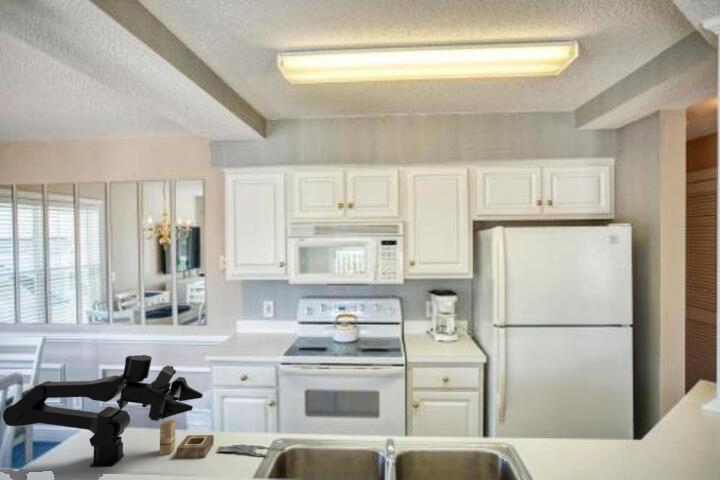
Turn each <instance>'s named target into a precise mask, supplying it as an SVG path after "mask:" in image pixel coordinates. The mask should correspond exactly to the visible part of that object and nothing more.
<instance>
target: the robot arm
mask: <svg viewBox="0 0 720 480" xmlns="http://www.w3.org/2000/svg"><path fill="white" fill-rule="evenodd" d="M124 363H125V364H124V369H123V373H122V374H121V375H111V376H106V377H101V378H97V379H95V380H80V381H79V380H77V381H76V380H75V381H74V380H72V381H71V380H70V381H67V380H66V381H51V380H46V381H44V382H43V381H42V383H40V384H37V385H35V386H34V387H33V388H32V389H31V390H30V391H29V392H28V393H26V395H25V394H24V396H23V397H22V398H21V399H18V400H17V401H16V402H15V403H13V404H10V405H9V406H8V407H6V408H5V409H4V411H3V413H2V419H3V421H4V424H5V425H6V426H9V427H24V426H29V425H30V426H31V425H35V424H42V425H50V426H56V427H63V428H64V427H65V428H72V429H79V430H80V429H81V430H88V431H90V432H91V433H93V435H92V436H91V437H90V438H89V443H90V445H91V447H93V461H92V462H91V463H90V464H89V467H112V466H114V465H116V464H117V463H118V461H120V460H121V459H122V458H123V457H124V456H125V453H124V442H123V441H122V436H121V435H122V434H124V431H125V430H126V428H127V427H129V426H130V423H131V417H130V414H129V412H128V411H126V410H124V409H123V408H125V407H127V405H129V403H132V404H133V403H134V404H138V405H140V404H141V405H142V406H141V407H142V408H147V407H148V406H150V407H149V413H148V418H149V419H150V421H153V422H159V421H160V420H165V419H166V418H169V417H173V416H177V415H178V414H183V413H185V412H186V413H187V412H190V411H192V410H193V405H191V404H188V403H184V402H183V401H191V400H198V399H203V396H204V395H203V393H202V392H200V391H198V390H195V389H194V388H192V387H190V386H189V385H188V383H187V380H186V377H183V376H178V377H177V378H175V380H173V381H172V382H171V380H172V378H173V376H174V375H175V374H176V372H177V370H175V369H174V366H173V365H165V366H163V367H162V369H161V370H160V372H159V373H158V375H157V377H156V378H155V380H153V381H152V382H151V383H148V382H143V381H144V380H145V379H148V378H149V375H150V373H149V372H150V369H151V365H152V364H151V363H152V356H150V355H146V354H142V355H140V354H139V355H127V356H126V357H125V360H124ZM119 395H120V397H119V399H117V400H116V403H117V405H118V408H116V407H113V406H107V407H105V408H104V409H102V410H101V411H99V412H96V411H95V412H93V411H88V410H87V411H86V410H80V409H72V408H64V407H56V406H50V405H48V404H46V401H47V400H48V399H56V398H57V399H58V398H63V399H64V398H89V399H90V400H92V401H96V402H103V403H104V402H109V401H111V400H112V399H114V398H116V397H117V396H119Z"/></svg>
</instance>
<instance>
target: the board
mask: <svg viewBox="0 0 720 480" xmlns="http://www.w3.org/2000/svg"><path fill="white" fill-rule="evenodd" d="M214 436H215V435H214V434H203V435H202V434H198V435H196V434H195V435H193V434H192V435H189V434H188V435H186V436H185V438H184V439H182V441H181V442H180V444H179V445H178V446H177V447H176V459H195V458H198V459H201V458H200V457H205V458H206V457H207V455H208V454H209V452H210V451H211V449H212V447H213V446H214V441H215V440H214V439H215V438H214Z"/></svg>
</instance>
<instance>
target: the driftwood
mask: <svg viewBox="0 0 720 480" xmlns="http://www.w3.org/2000/svg"><path fill="white" fill-rule="evenodd" d="M285 448H286V446H283V448H282V447H281V448H278V447H266V446H264V445H263V446H262V445H252V444H251V445H250V444H249V445H247V444H235V445H234V444H233V443H232V445H228V446H221V445H220V446H218V448H217V450H216V453H219V452H237V455H239V454H242V453H247V454H250V455H253V456H258V457H262V456H264V457H265V458H266V459H268V458H269V457H270V456H269V455H267V454H262V453H260V452H259V453H258V452H256V450H267V451H269V452H273V451H274V452H275V453H278V452H284V451H285ZM273 457H274V458H276V455H273Z"/></svg>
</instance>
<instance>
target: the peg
mask: <svg viewBox="0 0 720 480" xmlns="http://www.w3.org/2000/svg"><path fill="white" fill-rule="evenodd" d="M159 428H160V429H159V455H160V454H161V455H171V454H172V453H173V452H174V451H175V450H176V419H163V421H162V422H161V423H160V424H159ZM174 449H175V450H174ZM173 450H174V451H173Z"/></svg>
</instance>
